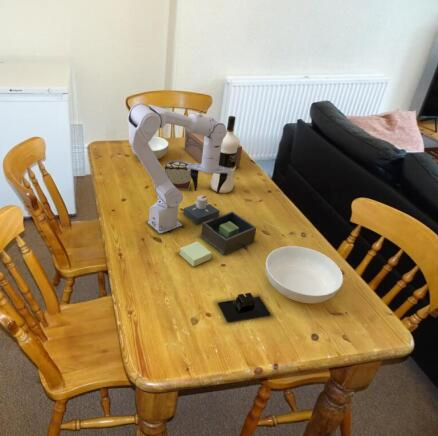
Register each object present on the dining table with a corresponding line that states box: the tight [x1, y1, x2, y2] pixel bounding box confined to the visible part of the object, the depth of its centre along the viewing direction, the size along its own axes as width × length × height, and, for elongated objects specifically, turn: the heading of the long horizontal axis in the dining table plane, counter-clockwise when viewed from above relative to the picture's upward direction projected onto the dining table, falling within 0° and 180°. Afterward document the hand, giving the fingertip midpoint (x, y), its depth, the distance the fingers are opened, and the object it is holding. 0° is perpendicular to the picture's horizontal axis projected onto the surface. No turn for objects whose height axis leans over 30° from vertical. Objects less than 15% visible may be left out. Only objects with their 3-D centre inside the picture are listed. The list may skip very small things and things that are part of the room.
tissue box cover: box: [184, 129, 243, 169], centre depth 187 cm, size 26×14×10 cm, turn 21°
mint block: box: [179, 241, 212, 267], centre depth 128 cm, size 7×7×2 cm
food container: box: [162, 159, 192, 191], centre depth 164 cm, size 12×6×10 cm, turn 84°
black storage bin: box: [200, 211, 257, 256], centre depth 136 cm, size 13×11×6 cm
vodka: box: [209, 115, 241, 194], centre depth 158 cm, size 9×9×30 cm
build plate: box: [217, 292, 271, 324], centre depth 110 cm, size 12×7×5 cm, turn 104°
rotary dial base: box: [182, 200, 220, 225], centre depth 149 cm, size 10×9×3 cm
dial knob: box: [195, 195, 208, 209], centre depth 148 cm, size 4×4×4 cm
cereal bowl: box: [130, 135, 169, 160], centre depth 186 cm, size 17×17×7 cm
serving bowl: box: [265, 245, 344, 304], centre depth 117 cm, size 21×21×7 cm
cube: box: [219, 221, 239, 239], centre depth 135 cm, size 4×4×4 cm
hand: (206, 190), depth 143 cm, fingers open, 7 cm apart
